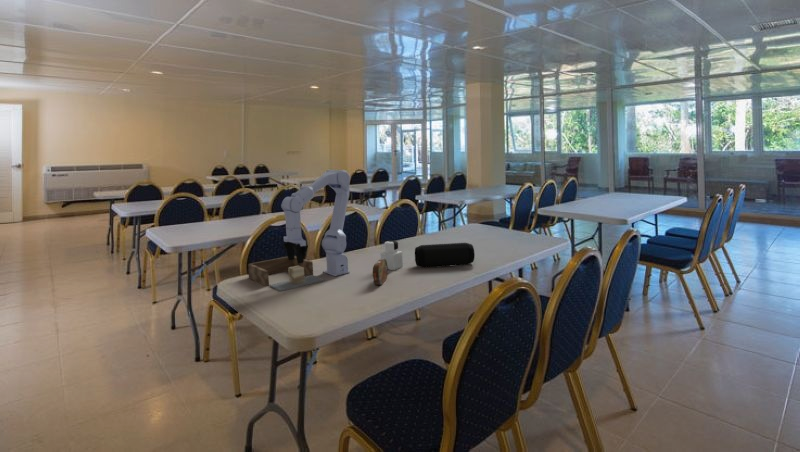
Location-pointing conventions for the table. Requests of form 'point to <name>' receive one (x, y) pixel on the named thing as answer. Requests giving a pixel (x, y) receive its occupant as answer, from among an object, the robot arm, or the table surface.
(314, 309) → the table surface
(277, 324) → the table surface
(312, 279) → the mat
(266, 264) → the wooden u-shaped frame
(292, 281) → the block
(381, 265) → the tin
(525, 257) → the table surface
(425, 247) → the portable speaker
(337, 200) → the robot arm
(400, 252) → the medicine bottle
